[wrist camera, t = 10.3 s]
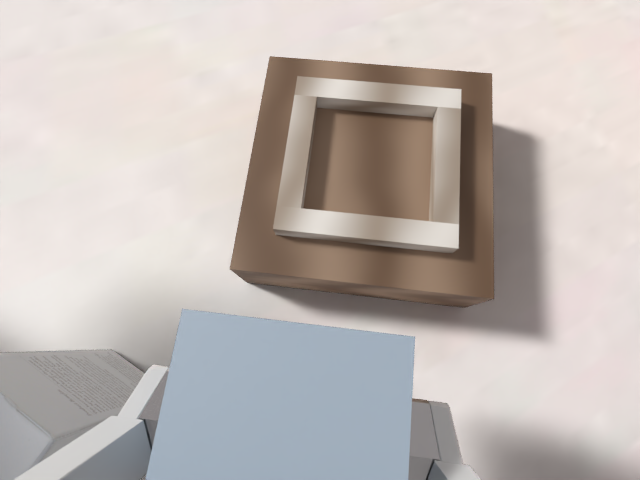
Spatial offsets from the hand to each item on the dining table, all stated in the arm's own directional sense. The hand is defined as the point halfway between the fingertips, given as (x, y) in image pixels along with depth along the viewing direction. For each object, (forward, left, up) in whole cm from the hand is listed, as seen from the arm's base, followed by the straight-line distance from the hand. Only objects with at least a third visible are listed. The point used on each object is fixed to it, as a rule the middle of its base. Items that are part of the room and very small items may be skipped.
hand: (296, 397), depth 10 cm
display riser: (+2, +13, -16) cm, 21 cm away
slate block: (0, -1, -4) cm, 4 cm away
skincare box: (-13, -4, -17) cm, 21 cm away
